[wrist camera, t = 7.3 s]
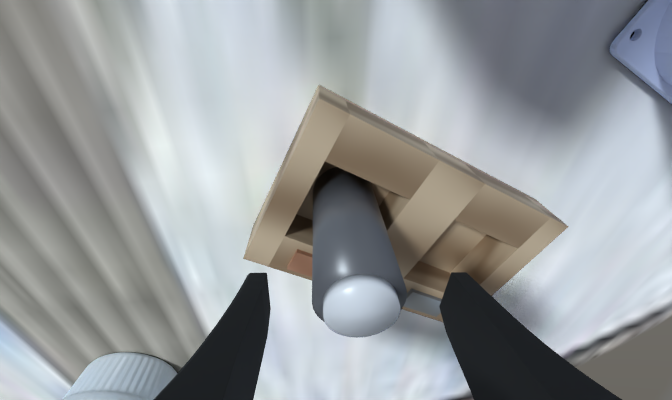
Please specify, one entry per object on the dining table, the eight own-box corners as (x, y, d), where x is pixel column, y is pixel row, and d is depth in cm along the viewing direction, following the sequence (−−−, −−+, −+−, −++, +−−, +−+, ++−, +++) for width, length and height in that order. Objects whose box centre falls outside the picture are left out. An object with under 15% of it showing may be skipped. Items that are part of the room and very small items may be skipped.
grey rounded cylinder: (329, 156, 17) (342, 265, 9) (383, 180, 18) (431, 296, 10) (303, 204, 18) (295, 330, 11) (353, 224, 19) (377, 351, 12)
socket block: (318, 84, 15) (319, 99, 12) (535, 199, 20) (572, 229, 17) (252, 227, 20) (242, 262, 17) (442, 293, 24) (458, 330, 21)
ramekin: (201, 364, 28) (183, 417, 24) (167, 405, 31) (148, 457, 27) (97, 334, 25) (58, 390, 21) (73, 383, 28) (37, 438, 24)
